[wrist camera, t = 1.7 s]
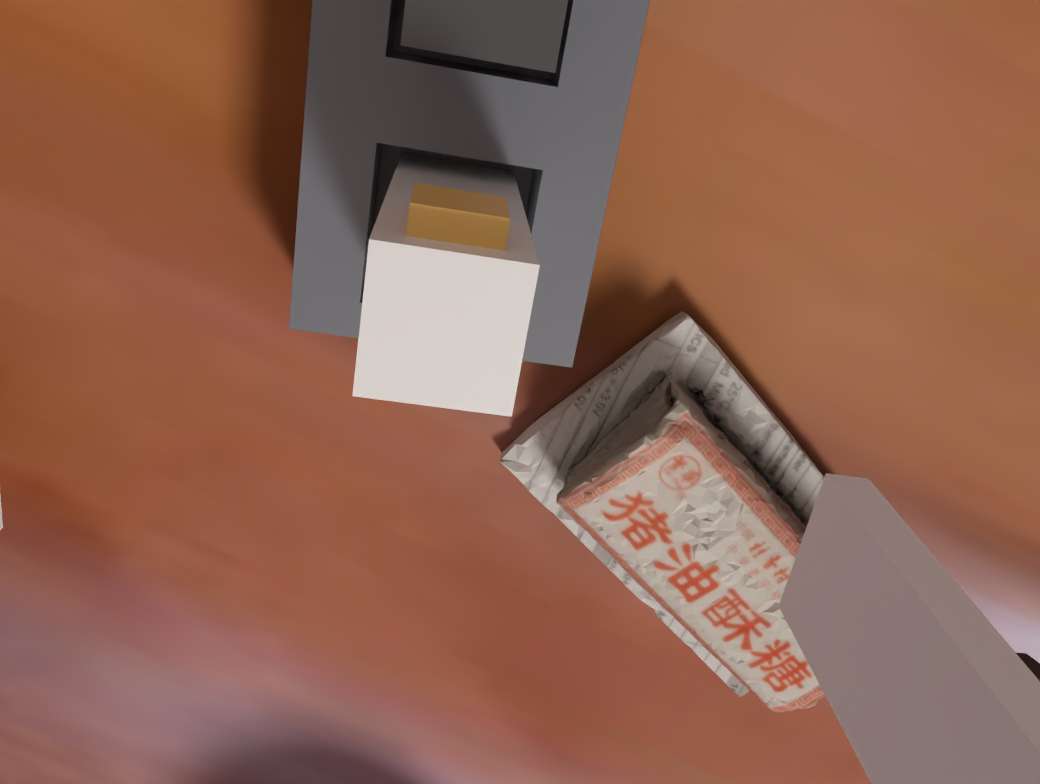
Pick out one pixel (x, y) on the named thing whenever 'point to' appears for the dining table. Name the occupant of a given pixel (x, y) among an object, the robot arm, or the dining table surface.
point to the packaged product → (686, 501)
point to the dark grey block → (488, 30)
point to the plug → (447, 289)
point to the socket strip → (459, 150)
